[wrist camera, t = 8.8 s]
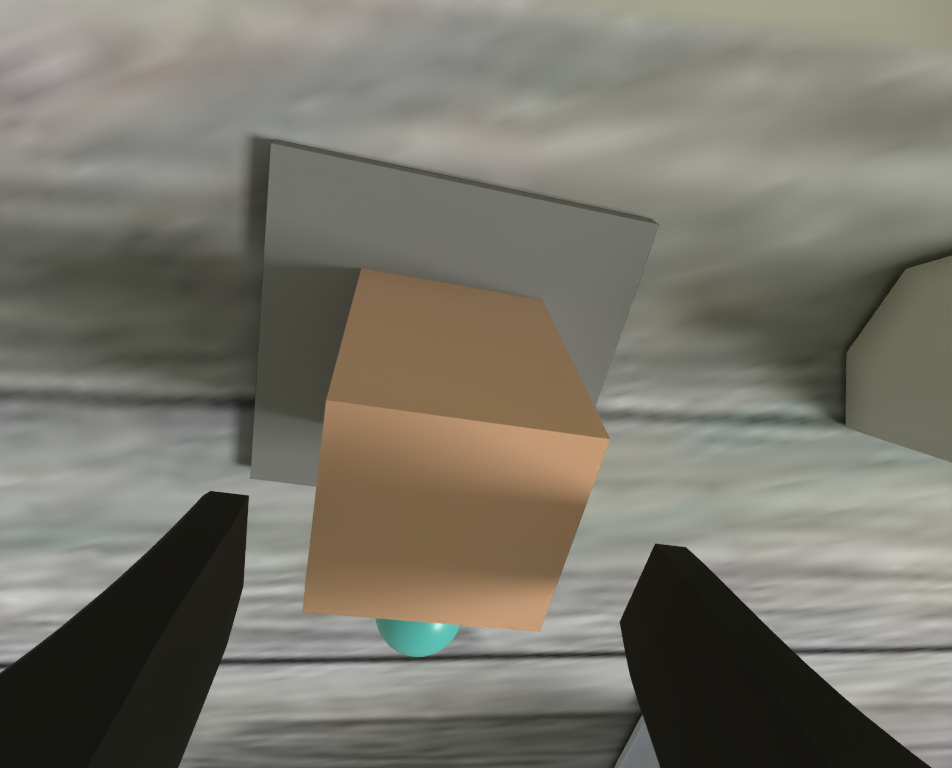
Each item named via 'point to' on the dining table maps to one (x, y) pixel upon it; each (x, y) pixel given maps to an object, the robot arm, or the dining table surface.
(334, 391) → the light orange block
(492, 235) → the mat
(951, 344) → the flask
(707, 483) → the dining table surface
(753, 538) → the dining table surface
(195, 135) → the dining table surface
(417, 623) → the ball
